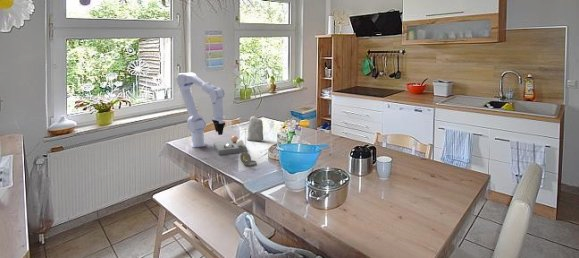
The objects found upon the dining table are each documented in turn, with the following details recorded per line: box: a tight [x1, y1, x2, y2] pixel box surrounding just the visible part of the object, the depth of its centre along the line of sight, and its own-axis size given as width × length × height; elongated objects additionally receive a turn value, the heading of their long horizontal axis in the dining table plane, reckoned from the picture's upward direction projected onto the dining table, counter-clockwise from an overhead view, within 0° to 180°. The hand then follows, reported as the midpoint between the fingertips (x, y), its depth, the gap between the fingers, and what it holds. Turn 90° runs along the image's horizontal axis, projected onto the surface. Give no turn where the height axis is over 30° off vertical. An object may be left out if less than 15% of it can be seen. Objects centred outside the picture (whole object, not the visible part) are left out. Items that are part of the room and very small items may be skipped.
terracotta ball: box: [230, 135, 239, 142], centre depth 223 cm, size 4×4×4 cm
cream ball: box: [236, 138, 244, 146], centre depth 215 cm, size 4×4×4 cm
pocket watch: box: [239, 148, 257, 167], centre depth 191 cm, size 8×8×10 cm
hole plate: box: [212, 140, 248, 156], centre depth 219 cm, size 17×16×2 cm
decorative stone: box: [246, 115, 264, 142], centre depth 235 cm, size 11×6×15 cm, turn 58°
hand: (219, 133), depth 215 cm, fingers open, 7 cm apart
